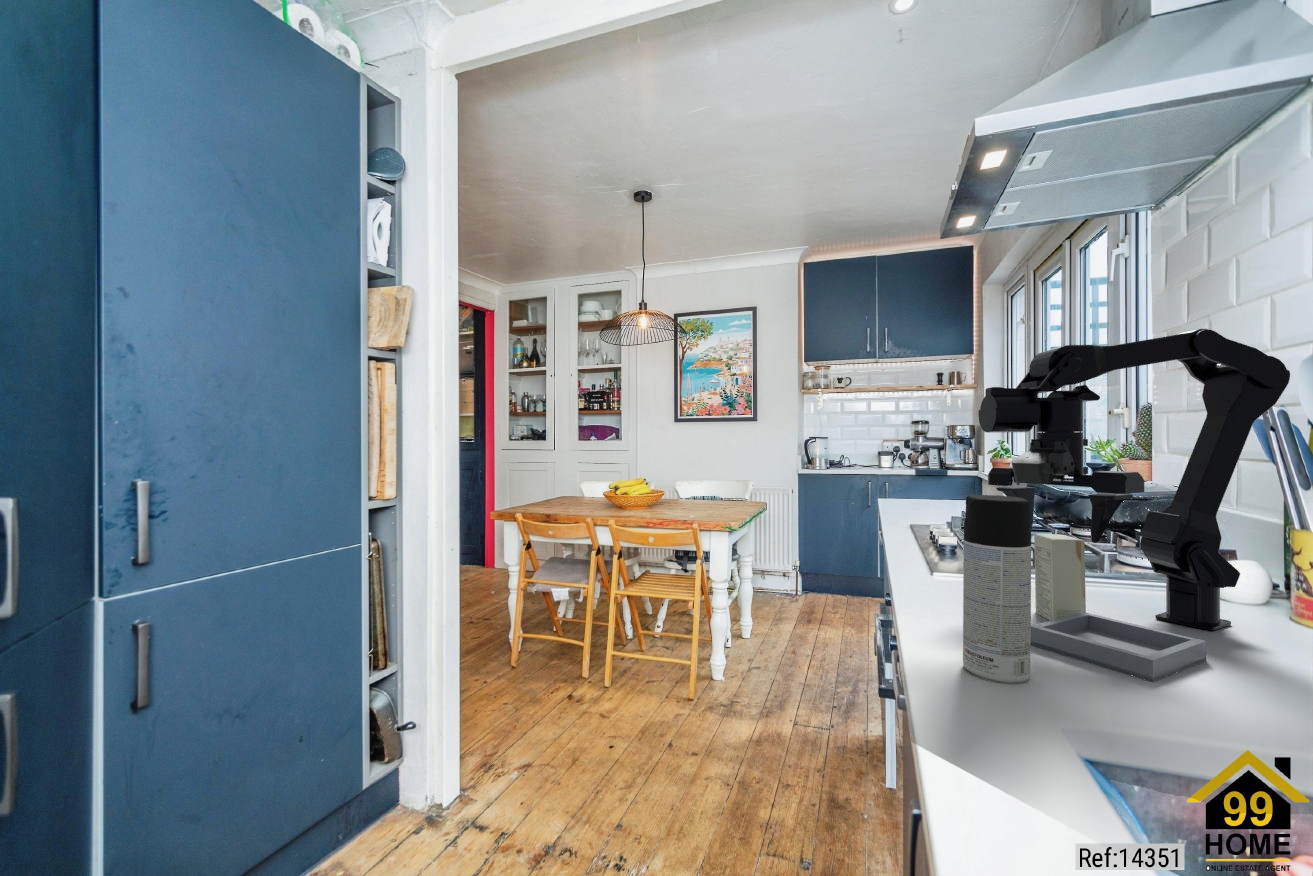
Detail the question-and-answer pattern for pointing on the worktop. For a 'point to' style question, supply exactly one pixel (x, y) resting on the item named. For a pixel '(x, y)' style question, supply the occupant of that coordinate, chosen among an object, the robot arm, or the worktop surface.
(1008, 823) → the worktop surface
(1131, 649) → the tray
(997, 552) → the spray can
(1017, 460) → the robot arm
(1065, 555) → the skincare box
